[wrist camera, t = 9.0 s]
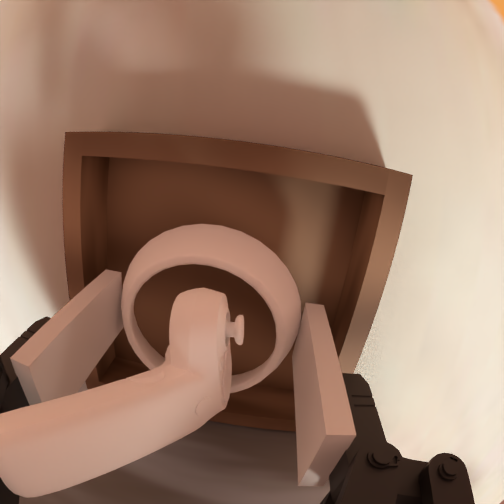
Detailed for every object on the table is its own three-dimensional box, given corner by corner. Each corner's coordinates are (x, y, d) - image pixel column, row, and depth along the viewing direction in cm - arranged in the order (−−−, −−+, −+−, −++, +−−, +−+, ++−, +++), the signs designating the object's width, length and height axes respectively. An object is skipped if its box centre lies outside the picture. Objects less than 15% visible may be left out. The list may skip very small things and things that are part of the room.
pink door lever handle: (-49, 236, 7) (-77, 252, 3) (196, 220, 16) (321, 224, 12) (-6, 423, 8) (53, 553, 3) (200, 355, 17) (310, 397, 13)
